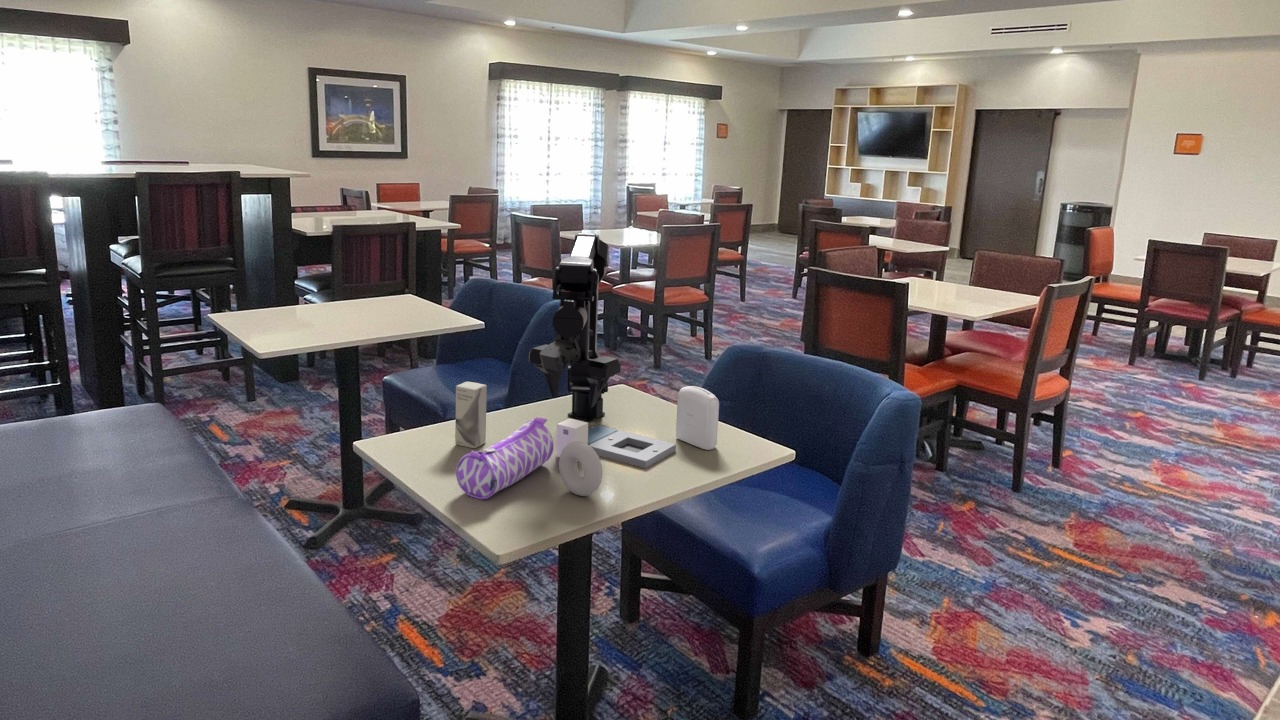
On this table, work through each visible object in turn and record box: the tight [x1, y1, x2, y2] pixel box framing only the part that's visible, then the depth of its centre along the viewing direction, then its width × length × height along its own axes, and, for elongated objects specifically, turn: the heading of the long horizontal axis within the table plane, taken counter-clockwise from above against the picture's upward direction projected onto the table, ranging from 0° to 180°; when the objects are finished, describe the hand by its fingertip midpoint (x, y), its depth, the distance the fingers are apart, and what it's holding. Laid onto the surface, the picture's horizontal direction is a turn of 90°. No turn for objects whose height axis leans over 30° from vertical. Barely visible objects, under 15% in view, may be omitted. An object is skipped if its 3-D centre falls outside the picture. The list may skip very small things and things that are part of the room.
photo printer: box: [675, 385, 720, 451], centre depth 177 cm, size 10×4×12 cm, turn 39°
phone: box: [588, 424, 620, 445], centre depth 179 cm, size 6×11×1 cm, turn 148°
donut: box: [558, 441, 603, 497], centre depth 149 cm, size 10×4×10 cm, turn 47°
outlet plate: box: [589, 429, 677, 469], centre depth 172 cm, size 14×12×2 cm
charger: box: [555, 417, 589, 459], centre depth 167 cm, size 4×4×7 cm
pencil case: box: [455, 416, 554, 500], centre depth 154 cm, size 22×9×10 cm, turn 156°
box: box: [454, 381, 488, 449], centre depth 171 cm, size 5×4×13 cm
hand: (573, 402), depth 166 cm, fingers open, 9 cm apart
